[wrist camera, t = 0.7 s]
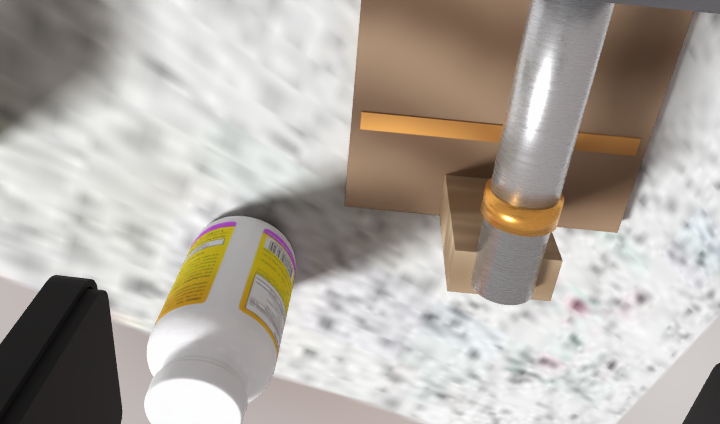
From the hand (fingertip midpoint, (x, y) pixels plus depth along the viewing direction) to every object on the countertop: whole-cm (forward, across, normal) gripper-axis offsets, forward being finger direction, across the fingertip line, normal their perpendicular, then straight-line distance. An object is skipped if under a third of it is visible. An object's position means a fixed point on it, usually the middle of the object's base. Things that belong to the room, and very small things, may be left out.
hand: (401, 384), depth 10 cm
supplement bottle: (+26, +7, +18) cm, 32 cm away
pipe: (+19, -6, +1) cm, 20 cm away
